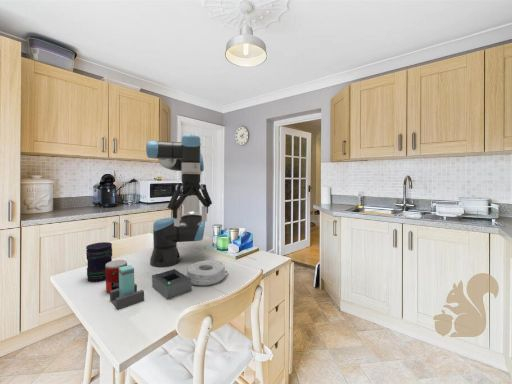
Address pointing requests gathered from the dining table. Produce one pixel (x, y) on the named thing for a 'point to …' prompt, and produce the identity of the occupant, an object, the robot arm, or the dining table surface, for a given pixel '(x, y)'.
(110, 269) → the canned food
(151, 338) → the dining table surface
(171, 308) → the dining table surface
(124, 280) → the plug
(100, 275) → the storage jar
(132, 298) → the grey slotted cradle
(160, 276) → the grey socket block
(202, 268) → the cable
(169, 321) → the dining table surface
